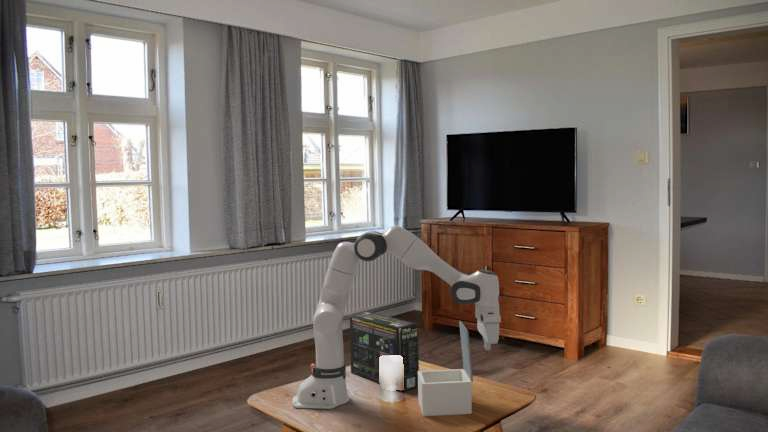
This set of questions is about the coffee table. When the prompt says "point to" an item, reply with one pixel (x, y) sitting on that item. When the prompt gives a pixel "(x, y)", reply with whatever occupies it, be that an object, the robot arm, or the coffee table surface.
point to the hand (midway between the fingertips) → (487, 348)
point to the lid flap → (467, 356)
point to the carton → (444, 392)
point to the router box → (383, 345)
